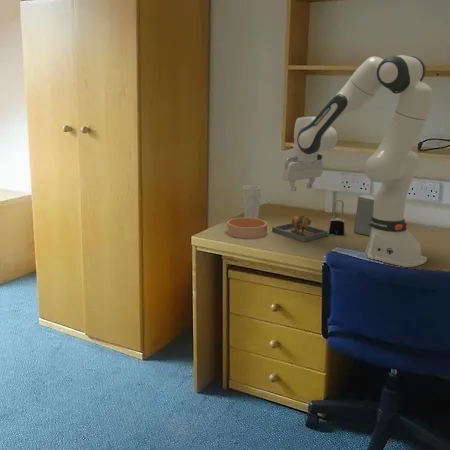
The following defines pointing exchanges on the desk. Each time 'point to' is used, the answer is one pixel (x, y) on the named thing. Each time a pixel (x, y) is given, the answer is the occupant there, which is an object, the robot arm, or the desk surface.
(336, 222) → the padlock
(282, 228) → the tray
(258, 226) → the bowl
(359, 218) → the skincare box
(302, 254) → the desk surface
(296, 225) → the lion figurine
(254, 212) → the cup
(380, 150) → the robot arm
